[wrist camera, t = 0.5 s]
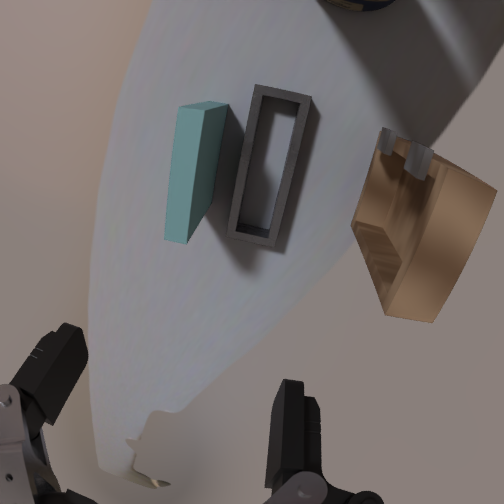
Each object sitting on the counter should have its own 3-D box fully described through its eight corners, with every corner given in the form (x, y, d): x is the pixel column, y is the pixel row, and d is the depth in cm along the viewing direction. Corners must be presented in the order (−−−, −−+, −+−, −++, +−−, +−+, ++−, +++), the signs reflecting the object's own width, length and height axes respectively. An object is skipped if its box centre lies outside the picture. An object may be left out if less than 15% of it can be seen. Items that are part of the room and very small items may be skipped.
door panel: (209, 101, 27) (178, 106, 19) (228, 104, 27) (204, 110, 19) (194, 199, 32) (164, 239, 24) (211, 202, 32) (186, 244, 24)
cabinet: (375, 123, 26) (442, 156, 14) (418, 139, 26) (500, 182, 14) (345, 223, 31) (376, 313, 19) (385, 234, 31) (432, 323, 19)
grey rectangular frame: (257, 84, 26) (255, 84, 24) (310, 96, 26) (311, 96, 24) (229, 228, 33) (225, 236, 31) (275, 238, 33) (274, 247, 31)
